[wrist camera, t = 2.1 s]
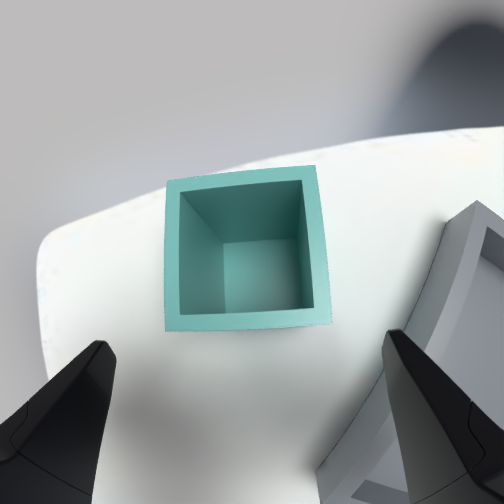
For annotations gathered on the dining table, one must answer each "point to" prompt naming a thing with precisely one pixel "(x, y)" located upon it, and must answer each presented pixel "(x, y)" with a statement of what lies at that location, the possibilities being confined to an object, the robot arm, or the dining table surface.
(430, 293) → the grey square tray
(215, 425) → the dining table surface
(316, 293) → the box
